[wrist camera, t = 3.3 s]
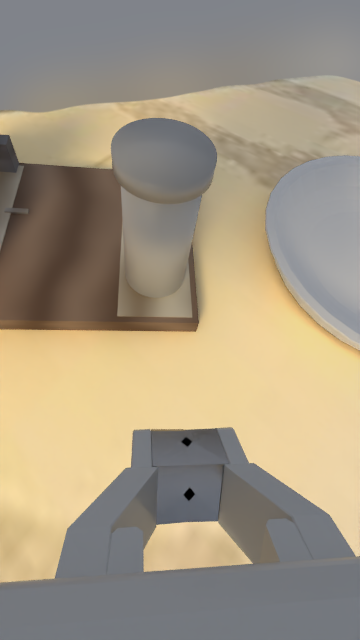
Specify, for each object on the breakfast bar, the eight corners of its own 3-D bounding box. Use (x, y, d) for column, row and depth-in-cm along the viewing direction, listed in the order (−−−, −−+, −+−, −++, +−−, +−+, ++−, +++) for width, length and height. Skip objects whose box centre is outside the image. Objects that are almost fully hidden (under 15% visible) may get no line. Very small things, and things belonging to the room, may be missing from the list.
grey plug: (118, 301, 26) (107, 181, 16) (121, 245, 29) (113, 113, 19) (191, 302, 26) (222, 188, 17) (187, 247, 29) (212, 122, 20)
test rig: (-102, 327, 25) (-147, 295, 21) (-38, 171, 33) (-61, 128, 29) (195, 331, 28) (205, 303, 24) (184, 186, 36) (190, 148, 32)
